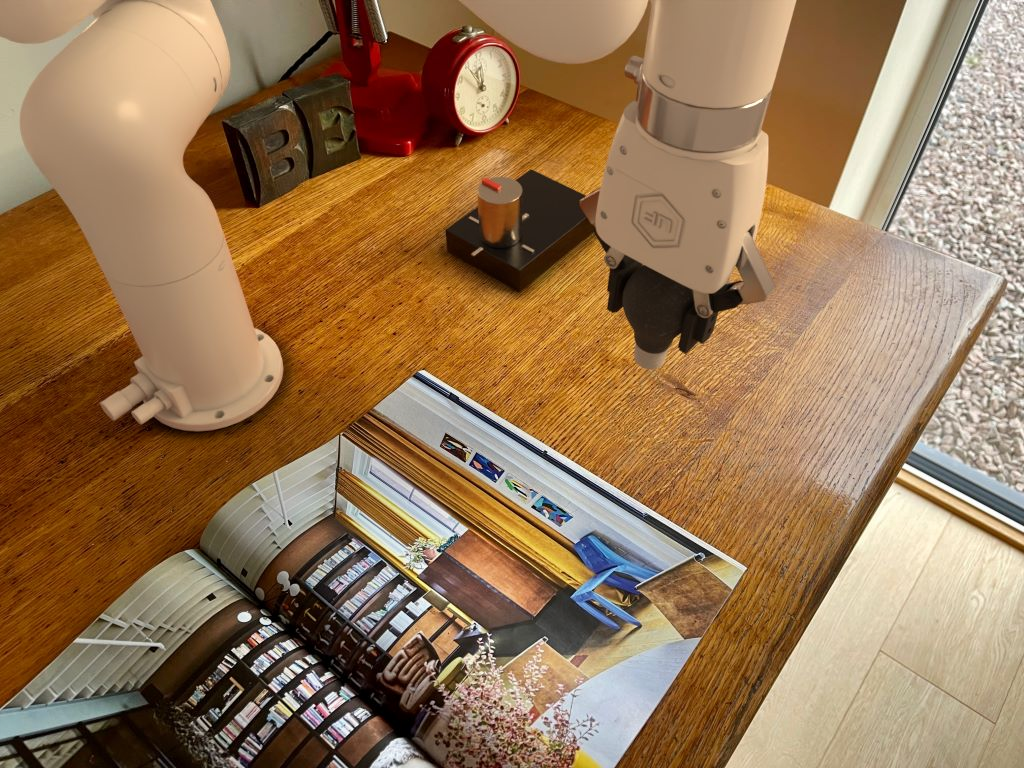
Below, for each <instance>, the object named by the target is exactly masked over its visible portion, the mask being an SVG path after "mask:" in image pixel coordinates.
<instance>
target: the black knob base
mask: <svg viewBox="0 0 1024 768" xmlns="http://www.w3.org/2000/svg"><path fill="white" fill-rule="evenodd" d="M514 180H515V181H517V182H518V183H519V184H520V185H521V187H522V237H521V239H520V241H519V242H518V243H516V244H515V245H513V246H510V247H506V248H495V247H491V246H488V245H486V244H485V243H483V242H482V240H481V239H480V236H479V216H478V206H477V207H475V208H474V209H472V210H471V211H469V212H468V213H467V214H465V215H464V216H463V217H461V218H460V219H458V220H457V221H455V222H454V223H452V224H451V225H450V226H448V227H447V228H445V242H446V252H447V253H449V254H450V255H452V256H453V257H455V258H457V259H459V260H461V261H462V262H465V264H466V263H467V264H468V265H470V266H471V267H473V268H475V269H476V270H478V271H480V272H482V273H484V274H486V275H487V276H489V277H491V278H492V279H495V280H496V281H498V282H499V283H502V284H503V285H505V286H507V287H508V288H510V289H512V290H514V291H515V292H517V293H521V292H522V291H524V290H525V289H526V288H527V287H528V286H530V285H531V284H532V283H533V282H534V281H536V280H537V279H538V278H540V277H541V276H542V275H543V274H545V272H547V271H548V270H549V269H551V268H552V267H553V266H554V265H555V264H556V263H558V262H559V261H560V260H562V259H563V258H564V257H566V255H568V254H569V253H570V252H571V251H573V250H574V249H575V248H576V247H578V246H579V245H581V244H582V242H584V241H585V240H586V239H587V238H589V237H590V236H591V235H592V234H594V225H593V224H592V225H591V223H590V221H589V220H588V218H587V217H586V215H585V214H584V212H583V210H582V209H581V207H580V200H581V199H583V198H584V197H585V196H587V195H586V194H584V193H582V192H579V191H578V190H576V189H574V188H571V187H569V186H567V185H566V184H563V183H561V182H559V181H557V180H554V179H553V178H550V177H548V176H546V175H545V174H542V173H540V172H538V171H536V170H534V169H532V168H531V169H529V170H528V171H526V172H524V173H523V174H522V175H521V176H519V177H517V178H516V179H514Z"/></svg>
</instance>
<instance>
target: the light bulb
mask: <svg viewBox="0 0 1024 768" xmlns="http://www.w3.org/2000/svg"><path fill="white" fill-rule="evenodd" d="M693 305H694V298H693V291H692V289H690V288H688V287H686V286H684V285H682V284H680V283H678V282H676V281H674V280H672V279H670V278H668V277H667V276H665V275H663V274H661V273H659V272H657V271H655V270H653V269H651V268H649V267H647V266H645V265H644V264H643V265H642V266H641V267H639V268H638V269H636V270H635V271H634V273H632V275H631V276H630V277H629V279H628V281H627V283H626V285H625V288H624V291H623V308H622V309H623V312H624V316H625V318H626V320H627V322H628V324H629V325H630V327H631V329H632V330H633V335H634V336H633V338H634V343H635V344H634V345H635V346H634V350H633V359H634V362H635V363H636V364H637V366H639V367H641V368H642V369H646V370H650V371H651V370H657V369H659V368H661V367H663V365H664V363H665V362H666V358H667V354H668V350H669V348H670V347H671V346H672V344H673V342H674V340H675V339H676V338H677V337H678V336H681V332H682V328H683V323H684V319H685V315H686V313H687V311H688V310H689V309H690V308H691V307H692V306H693Z"/></svg>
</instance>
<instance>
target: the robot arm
mask: <svg viewBox="0 0 1024 768" xmlns="http://www.w3.org/2000/svg"><path fill="white" fill-rule="evenodd" d="M458 2H460V3H461V4H462V5H463V6H464V7H465V8H466V9H468V11H470V12H472V13H473V14H474V15H475V16H476V17H478V18H479V19H480V20H481V21H482V22H483V23H485V24H486V25H487V26H489V27H490V28H491V29H492V30H494V31H495V32H496V33H498V34H499V35H500V36H501V37H503V38H504V39H506V40H507V41H509V42H510V43H512V44H513V45H514V46H516V47H518V48H520V49H521V50H524V51H525V52H528V53H529V54H531V55H533V56H534V57H537V58H540V59H543V60H546V61H550V62H553V63H557V64H564V65H566V64H567V65H578V64H579V65H580V64H586V63H591V62H594V61H598V60H601V59H603V58H604V57H606V56H608V55H610V54H612V53H614V52H615V51H616V50H617V49H619V47H621V46H622V45H624V43H626V42H627V41H628V40H629V38H630V37H631V36H632V34H634V32H635V31H636V30H637V28H638V26H639V24H640V23H641V21H642V19H643V17H644V15H645V12H646V10H647V7H648V3H649V2H650V14H649V20H648V27H647V33H646V41H645V49H644V55H643V57H640V56H637V55H632V56H631V57H630V58H629V59H628V61H627V62H626V65H625V68H624V75H625V77H626V78H628V79H630V80H633V83H635V84H636V85H637V89H636V96H635V100H633V101H631V102H630V103H628V104H627V105H626V106H625V108H624V109H623V113H622V115H621V116H620V119H619V122H618V125H617V128H616V130H615V133H614V136H613V140H612V143H611V145H610V148H609V152H608V155H607V159H606V163H605V167H604V171H603V175H602V179H601V183H600V186H599V187H598V188H596V189H594V190H592V191H590V192H589V193H588V194H587V195H586V196H585V197H584V198H583V199H581V200H580V207H581V209H582V210H583V212H584V214H585V215H586V217H587V218H588V220H589V221H590V223H591V225H592V224H593V225H594V232H593V234H594V235H595V237H596V239H597V240H598V242H599V244H600V245H601V247H602V249H603V251H604V252H605V255H604V256H603V260H604V263H605V265H606V266H607V267H608V268H609V273H608V280H607V287H606V291H607V292H608V300H607V306H606V310H607V311H608V312H609V313H612V314H615V313H618V312H620V311H621V310H622V309H623V291H624V288H625V285H626V283H627V281H628V279H629V277H630V276H631V275H632V273H634V271H635V270H636V269H638V268H639V267H641V266H642V265H645V266H647V267H649V268H651V269H653V270H655V271H657V272H659V273H661V274H663V275H665V276H667V277H668V278H670V279H672V280H674V281H676V282H678V283H680V284H682V285H684V286H686V287H688V288H690V289H692V291H693V298H694V305H693V306H692V307H691V308H690V309H689V310H688V311H687V313H686V315H685V319H684V323H683V328H682V332H681V334H680V335H679V336H680V337H679V341H678V343H677V344H678V345H677V348H678V350H679V352H681V353H683V354H685V355H687V354H688V353H689V352H690V351H691V350H692V349H693V348H694V347H695V346H696V345H697V344H698V343H700V344H701V345H703V344H705V343H706V342H707V341H708V340H709V339H710V338H711V336H712V334H713V332H714V329H715V326H716V323H717V319H718V315H719V313H720V312H725V311H729V310H733V309H736V308H737V307H739V306H740V305H744V306H745V305H750V304H756V303H761V302H765V301H766V300H767V299H768V298H769V297H770V296H771V295H772V294H773V292H775V291H776V288H777V287H776V284H775V281H774V279H773V277H772V276H771V273H770V271H769V269H768V267H767V265H766V263H765V260H764V259H763V256H762V255H761V253H760V250H759V249H758V246H757V245H756V239H757V236H758V231H759V228H760V227H759V226H760V222H761V218H762V213H763V212H762V211H763V207H764V204H765V203H764V202H765V197H766V196H765V195H766V189H767V182H768V181H767V180H768V169H769V148H770V147H769V134H767V132H765V131H763V129H762V128H763V125H764V122H765V118H766V114H767V110H768V107H769V104H770V99H771V96H772V92H773V88H774V84H775V80H776V77H777V73H778V69H779V66H780V63H781V59H782V55H783V52H784V47H785V44H786V40H787V37H788V33H789V29H790V26H791V22H792V18H793V14H794V11H795V8H796V5H797V4H796V3H797V0H458ZM91 15H92V16H93V18H94V21H92V22H91V23H90V24H89V25H88V26H87V27H86V28H84V30H83V31H82V32H80V33H79V34H77V35H76V36H75V37H74V38H73V39H72V40H71V41H70V42H69V43H68V44H67V45H66V46H65V47H64V48H63V49H61V51H60V52H59V53H57V54H56V55H55V56H54V57H53V58H52V59H51V60H50V61H48V63H46V65H45V66H44V67H43V68H42V69H41V71H39V73H38V74H37V75H36V77H35V78H34V80H33V81H32V82H31V84H30V86H29V87H28V89H27V92H26V94H25V97H24V98H23V100H22V104H21V108H20V111H19V130H20V136H21V140H22V142H23V145H24V147H25V149H26V152H27V153H28V155H29V157H30V158H31V160H32V161H33V163H34V165H35V166H36V167H37V169H38V170H39V172H40V173H41V174H42V175H43V176H44V178H45V179H46V180H47V182H49V184H50V185H51V186H52V188H53V189H54V191H55V192H56V193H57V194H58V196H59V197H60V198H61V200H62V201H63V202H64V204H65V205H66V207H67V208H68V210H69V212H70V213H71V214H72V216H73V217H74V219H75V221H76V223H77V224H78V227H79V228H80V230H81V232H82V234H83V235H84V238H85V240H86V241H87V243H88V245H89V248H90V249H91V251H92V253H93V255H94V258H95V259H96V262H97V264H98V266H99V268H100V270H101V271H102V273H103V275H104V277H105V280H106V281H107V283H108V286H109V288H110V290H111V293H112V294H113V296H114V299H115V300H116V302H117V305H118V306H119V309H120V311H121V313H122V315H123V317H124V319H125V322H126V324H127V326H128V328H129V331H130V332H131V334H132V337H133V338H134V341H135V343H136V345H137V347H138V349H139V351H140V353H141V355H142V356H140V357H139V358H138V359H136V360H134V362H133V364H134V366H135V368H136V370H137V374H136V375H134V376H132V377H131V378H130V379H129V382H130V384H129V385H127V386H126V387H124V388H122V389H121V390H117V391H116V392H114V393H113V394H111V395H109V396H108V397H106V398H105V399H103V400H102V401H100V402H99V405H100V407H101V409H102V410H103V412H104V414H106V416H108V418H110V420H111V421H113V422H115V421H116V420H118V419H119V418H121V417H122V416H124V415H125V414H126V413H128V412H129V411H131V410H132V411H131V412H130V414H131V415H132V417H133V418H134V420H135V421H136V422H137V423H138V424H139V425H141V426H142V425H143V424H145V423H146V422H148V421H149V420H150V419H153V418H155V420H157V421H158V422H160V423H161V424H163V425H166V426H167V427H170V428H172V429H177V430H181V431H186V432H187V431H188V432H206V431H208V432H209V431H214V430H218V429H223V428H227V427H229V426H233V425H234V424H238V423H241V422H242V421H245V420H246V419H248V418H250V417H251V416H253V415H255V414H256V413H257V412H258V411H260V410H262V408H264V407H265V406H266V405H267V404H268V403H269V401H270V400H271V399H272V398H273V397H274V395H275V394H276V392H277V391H278V389H279V387H280V385H281V382H282V380H283V376H284V362H283V357H282V354H281V351H280V349H279V346H278V344H276V342H275V340H273V339H272V338H271V336H270V335H268V334H267V333H266V332H263V331H262V330H260V329H259V328H255V327H254V323H253V320H252V316H251V313H250V311H249V307H248V304H247V301H246V298H245V295H244V291H243V288H242V285H241V283H240V279H239V276H238V273H237V270H236V267H235V263H234V261H233V257H232V255H231V251H230V248H229V245H228V242H227V239H226V236H225V233H224V230H223V228H222V225H221V221H220V218H219V216H218V213H217V210H216V208H215V206H214V204H213V202H212V200H211V198H210V196H209V195H208V194H207V192H206V191H205V190H204V189H203V188H202V186H200V185H199V184H198V183H196V181H194V180H193V179H192V178H191V177H190V176H189V175H188V174H187V172H186V170H185V167H184V154H185V152H186V150H187V148H188V146H189V144H190V143H191V142H192V141H193V139H194V137H195V136H196V134H197V132H198V130H199V129H200V127H201V126H202V125H203V123H204V122H205V121H206V119H207V118H208V117H209V115H210V114H211V112H212V111H213V110H214V109H215V107H216V106H217V104H218V103H219V102H220V101H221V99H222V96H224V93H225V92H226V89H227V87H228V84H229V82H230V77H231V68H232V67H231V65H232V64H231V56H230V50H229V49H230V48H229V46H228V43H227V38H226V36H225V33H224V29H223V27H222V25H221V22H220V20H219V17H218V15H217V12H216V9H215V8H214V6H213V3H212V1H211V0H0V38H2V39H6V40H8V41H10V42H13V43H16V44H17V43H18V44H24V45H25V44H27V45H29V44H31V45H33V44H35V45H37V44H43V43H47V42H49V41H52V40H55V39H58V38H61V37H62V36H63V35H65V34H68V33H69V32H71V30H73V29H75V28H77V26H79V25H80V24H81V23H83V22H84V21H86V20H87V19H88V18H89V17H91ZM735 268H736V269H737V271H738V273H739V276H740V277H741V280H736V281H733V282H730V278H731V276H732V274H733V272H734V270H735ZM141 402H143V403H142V404H141V405H139V406H138V407H136V408H135V409H134V410H133V408H134V407H135V406H136V405H138V404H139V403H141Z"/></svg>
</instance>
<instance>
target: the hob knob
mask: <svg viewBox="0 0 1024 768" xmlns="http://www.w3.org/2000/svg"><path fill="white" fill-rule="evenodd" d="M515 180H516V179H513V178H511V177H507V176H493V177H490V178H487V177H483V179H481V183H480V184H479V185H478V187H477V190H476V191H477V192H476V193H477V207H478V216H479V236H480V239H481V240H482V242H483V243H485V244H486V245H488V246H491V247H495V248H506V247H510V246H513V245H515V244H516V243H518V242H519V241H520V239H521V237H522V187H521V185H520V184H519V183H518V182H517V181H515Z"/></svg>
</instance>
